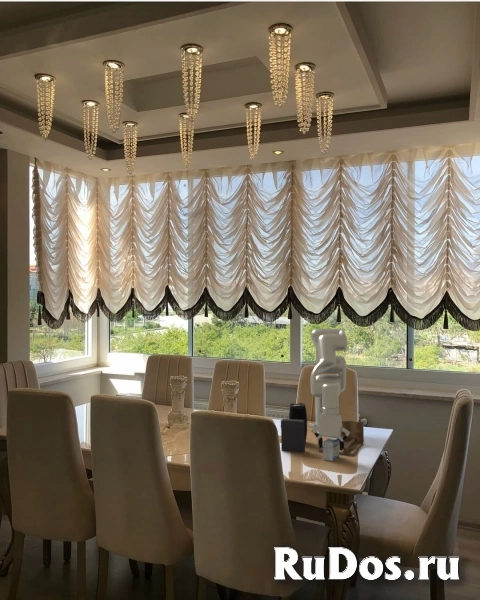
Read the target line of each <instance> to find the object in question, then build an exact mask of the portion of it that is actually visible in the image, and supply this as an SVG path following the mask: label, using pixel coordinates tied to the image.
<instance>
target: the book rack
mask: <svg viewBox="0 0 480 600" xmlns="http://www.w3.org/2000/svg"><path fill="white" fill-rule="evenodd" d="M341 420H342V427H343V428H345V429H346V430H348V431H349V432H350V434H349V436H348V437H347V438H346V439H345V440H344V448H343V450H342V451H341V450H340V441H341V440H340V439H339V438H338V437H332V438H338V439H339V456H348V457H353V456H354V455H355V454H357V452H358V451H359V450H361V448H362V447H363V445H364V444H365V437H364V434H365V432H364V421H357V420H346V419H341ZM342 435H343V437H344V436H345V435H346V433H345V432H343V433H342ZM318 453H322V454H324V451H323V447H322V448H319V450H318Z"/></svg>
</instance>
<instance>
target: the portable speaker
mask: <svg viewBox="0 0 480 600" xmlns="http://www.w3.org/2000/svg"><path fill="white" fill-rule="evenodd" d="M306 406H307V405H306V403H304V402H298V403H290V405H289V410H288V411H289V413H288V419H296V420H304V421H305V444H306V443H307V436H308V415H307V414H308V413H307V407H306Z"/></svg>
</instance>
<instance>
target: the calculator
mask: <svg viewBox="0 0 480 600" xmlns="http://www.w3.org/2000/svg"><path fill="white" fill-rule="evenodd" d="M280 431H281V432H280V433H281V434H280V435H281V437H280V438H281V439H280V443H281V445H280V447H281V452H288V453H289V452H290V453H292V452H293V453H302V454H303V453H304V452H306V443H305V421H304V420H296V419H289V418H282V419H281V420H280Z"/></svg>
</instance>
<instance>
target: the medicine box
mask: <svg viewBox="0 0 480 600" xmlns="http://www.w3.org/2000/svg"><path fill="white" fill-rule="evenodd" d="M323 451H324V453H323V460H324V461H330V462H333V461H335V460H336V459H338V458H339V457H340V455H339V439H338V438H332V437H327V438H326V439H325V440H323Z"/></svg>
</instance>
